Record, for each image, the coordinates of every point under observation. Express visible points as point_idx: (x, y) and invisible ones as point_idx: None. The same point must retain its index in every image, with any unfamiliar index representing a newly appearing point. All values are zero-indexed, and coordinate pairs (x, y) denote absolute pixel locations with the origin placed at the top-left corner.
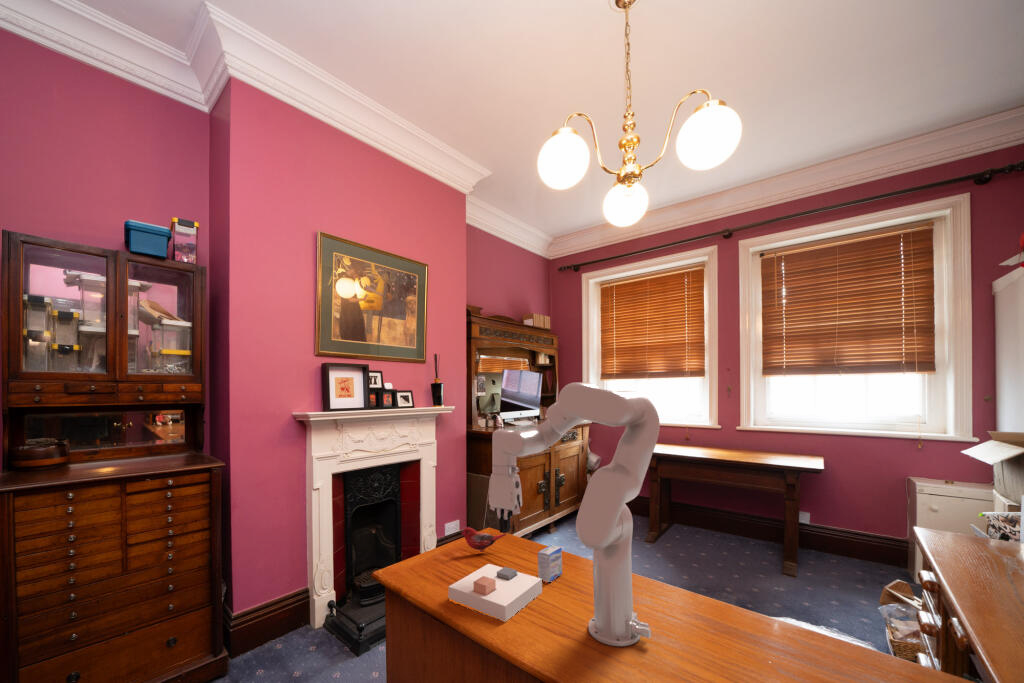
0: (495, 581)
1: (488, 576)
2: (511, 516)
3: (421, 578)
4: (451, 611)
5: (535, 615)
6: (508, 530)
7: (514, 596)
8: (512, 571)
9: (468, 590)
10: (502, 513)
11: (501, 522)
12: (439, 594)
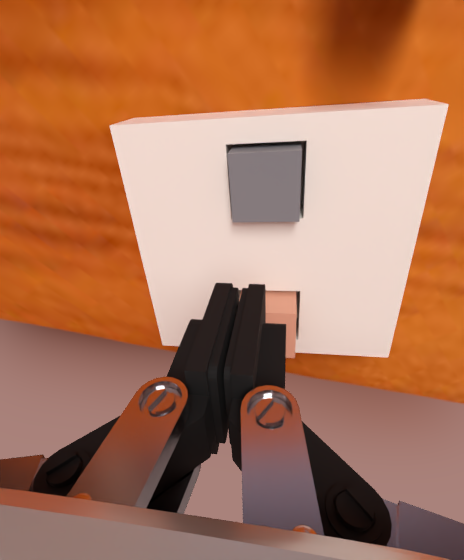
0: (296, 310)
1: (208, 233)
2: (314, 440)
3: (4, 265)
4: None
5: (453, 258)
6: (265, 306)
7: (388, 303)
8: (291, 178)
9: None
10: (171, 460)
11: (227, 423)
12: (126, 304)
